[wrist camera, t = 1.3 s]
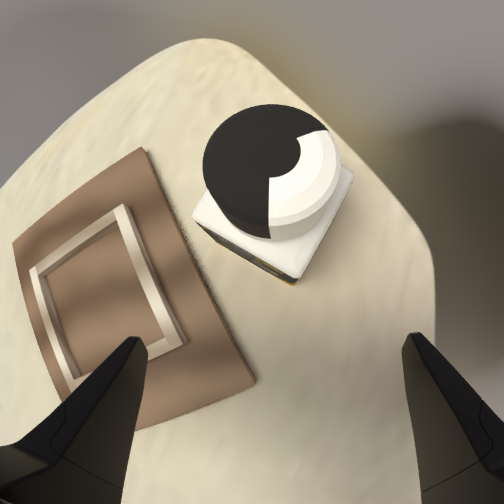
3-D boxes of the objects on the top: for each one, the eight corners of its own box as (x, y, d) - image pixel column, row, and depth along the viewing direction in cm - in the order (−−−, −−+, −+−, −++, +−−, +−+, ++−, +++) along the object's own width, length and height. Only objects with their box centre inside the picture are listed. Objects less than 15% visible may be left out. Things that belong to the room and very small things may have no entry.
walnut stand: (256, 381, 22) (253, 389, 19) (90, 441, 22) (77, 449, 20) (146, 152, 26) (135, 140, 24) (19, 244, 26) (4, 240, 24)
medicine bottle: (214, 241, 24) (154, 184, 12) (260, 168, 25) (242, 68, 13) (293, 287, 23) (306, 270, 11) (337, 208, 24) (380, 128, 12)
